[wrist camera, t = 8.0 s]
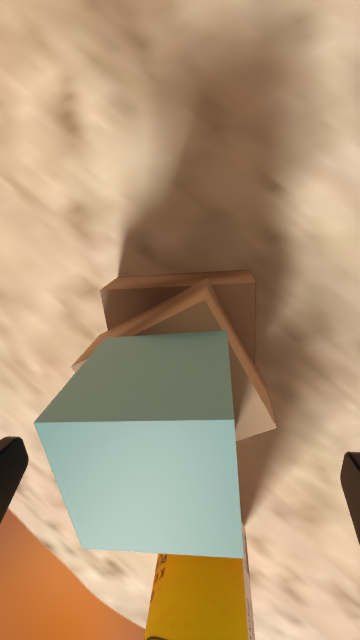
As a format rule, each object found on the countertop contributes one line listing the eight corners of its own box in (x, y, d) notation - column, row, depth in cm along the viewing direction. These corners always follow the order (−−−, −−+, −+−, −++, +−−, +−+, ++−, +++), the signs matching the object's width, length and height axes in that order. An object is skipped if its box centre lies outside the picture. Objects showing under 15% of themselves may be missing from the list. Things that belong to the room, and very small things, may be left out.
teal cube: (227, 329, 10) (234, 419, 6) (234, 431, 12) (243, 558, 7) (105, 337, 11) (33, 422, 6) (127, 432, 12) (82, 548, 8)
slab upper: (207, 278, 12) (204, 299, 10) (265, 383, 14) (277, 428, 11) (99, 335, 14) (71, 366, 11) (162, 423, 16) (150, 470, 13)
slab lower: (248, 268, 15) (255, 282, 12) (247, 381, 18) (253, 414, 15) (120, 275, 16) (100, 290, 13) (137, 381, 18) (123, 412, 16)
